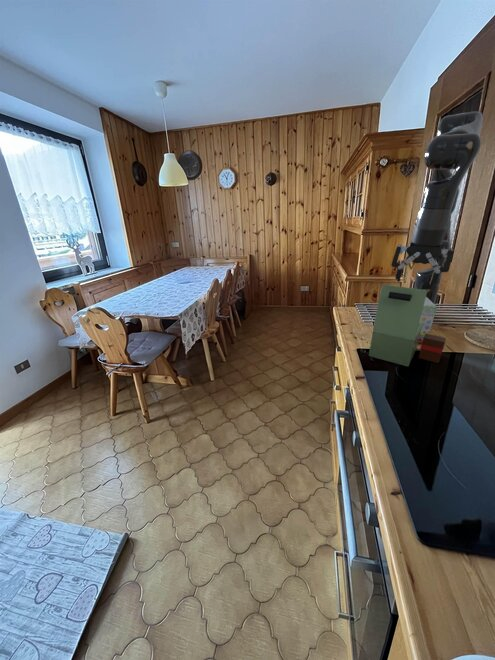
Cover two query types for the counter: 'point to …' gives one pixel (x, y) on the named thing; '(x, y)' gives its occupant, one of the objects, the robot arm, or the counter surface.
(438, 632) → the counter surface
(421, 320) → the snack box
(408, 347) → the bin
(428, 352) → the chocolate
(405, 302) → the bin lid
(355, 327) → the counter surface
